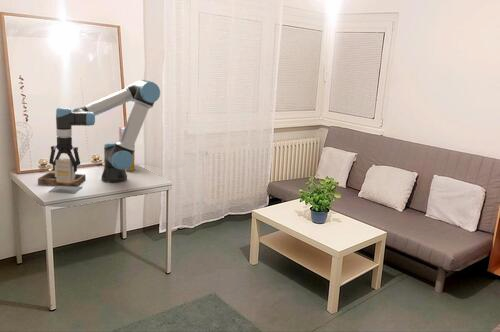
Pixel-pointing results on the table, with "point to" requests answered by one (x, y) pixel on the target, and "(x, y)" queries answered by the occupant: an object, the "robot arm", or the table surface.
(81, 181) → the brown wooden tray
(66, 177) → the supplement box
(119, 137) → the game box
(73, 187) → the rubber mat
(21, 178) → the table surface
